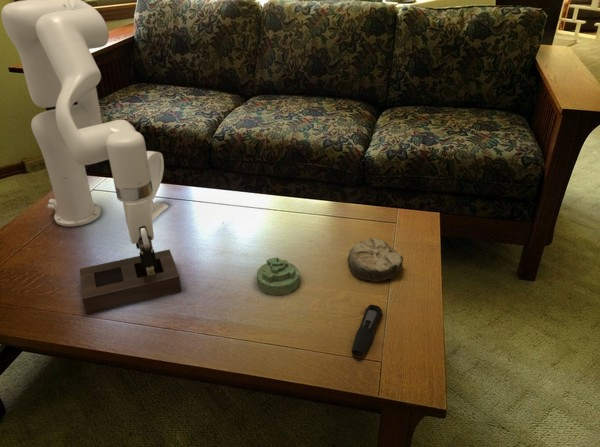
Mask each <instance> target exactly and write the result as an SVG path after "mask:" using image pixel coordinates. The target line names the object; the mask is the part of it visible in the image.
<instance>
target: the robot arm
mask: <svg viewBox="0 0 600 447" xmlns="http://www.w3.org/2000/svg"><path fill="white" fill-rule="evenodd" d="M0 17H1V23H2V25H3V28H4V31H5V33H6V34H7V36H8V38H9V40H10V41H11V43H12V44H13V45H14V47H15V49H16V50H17V53H18V55H19V59H20V62H21V67H22V70H23V75H24V79H25V81H26V86H27V89H28V93H29V96H30V99H31V101H32V102H33V103H34V105H35V106H37V107H39V108H42V109H43V108H45V109H46V108H47V109H48V108H54V107H55V108H54V109H49V110H44V111H42V112H39V113H38V114H36V115H34V117H32V119H31V124H30V128H31V131H32V133H33V136H34V138H35V140H36V143H37V144H38V146H39V150H40V152H41V155H42V157H43V160H44V163H45V167H46V171H47V174H48V178H49V181H50V185H51V189H52V193H53V195H54V198H50V199H48V204H47V206H46V207H47V209H48V210H54V211H55V214H54V216H53V218H54V221H55V223H56V224H57V225H60V226H62V227H80V226H83V225H87V224H90V223H92V222H94V221H95V220H97V219H98V218H99V217H100V216H101V212H102V210H101V207H100V205H98V204H96V203H94V200H93V196H92V191H91V188H90V184H89V179H88V175H87V169H86V166H90V165H93V164H97V163H100V162H104V161H108V162H109V166H110V170H111V175H112V180H113V184H114V185H113V186H114V190H115V194H116V199H117V200H118V201H119V202H121V203H122V206H123V213H124V217H125V223H126V227H127V228H126V229H127V231H128V235H129V239H130V243H131V244H133V245H135V246H136V249H137V250H139V254H138V255H139V256H140V260H141V265H142V268H147V267H152V266H156V265H157V264H156V258H155V252H156V251H155V249H154V247H153V242H152V241H153V240H154V239H155V235H154V227H153V226H154V225H153V221H152V217H151V211H150V205H149V199H148V198H150V197H151V196H152V195H153V189H152V183H151V177H150V171H149V164H148V158H147V152H146V151H147V146H146V142H145V137H144V135H142V133H141V132H139V131H137V130H136V128H135V127H134V125H132V124H131V123H130V122H129V121H128V120H125V119H116V120H112V121H108V122H107V121H106V122H103V119H102V114H101V113H102V112H101V108H100V101H99V97H98V90H97V86H98V84H99V83H100V81H101V79H102V74H101V71H100V69H99V67H98V65H97V63H96V61H95V58H94V57H93V54H92V53H91V50H92V49H98V48H103V47H105V46H106V45H108V42H109V38H110V33H109V29H108V28H109V27H108V26H107V23H106V21H105V19H104V18H103V16H102V14H100V13H99V11H98V10H97V9H96V8H94V6H92V5H90V4H88V3H87V2H85V1H83V0H18V1H13V2H10V3H7V4H5V5H4V6H3V7H2V9H1V13H0ZM75 103H77V104H75ZM139 229H140V230H139ZM140 237H142V240H140V239H139V238H140ZM148 237H149V239H148ZM151 240H152V241H151ZM136 243H139V244H136ZM141 243H143V246H144V247H142V245H141Z"/></svg>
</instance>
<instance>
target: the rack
mask: <svg viewBox="0 0 600 447" xmlns="http://www.w3.org/2000/svg"><path fill="white" fill-rule="evenodd" d="M154 252H155V258H156V264H157V265H156V266H153V267H154V272H155V274H153V275H149V276H148V275H147V270H146V268H142V265H141V260H140V255H136V256H133V257H128V258H122V259H118V260H113V261H108V262H103V263H100V264H96V265H90V266H86V267H85V266H84V267H80V268H79V277H80V278H79V279H80V288H81V289H80V290H81V299H82V302H83V307H84V309H85V314H86V315H90V314H95V313H99V312H103V311H107V310H111V309H112V310H113V309H116V308H120V307H123V306H128V305H131V304H137V303H140V302H145V301H148V300H152V299H156V298H160V297H165V296H169V295H173V294H177V293H181V292H182V285H181V284H182V283H181V277H180V274H179V271H178V269H177V266H176V263H175V260H174V257H173V255H172V252H171V249H164V250H160V251H154Z"/></svg>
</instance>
